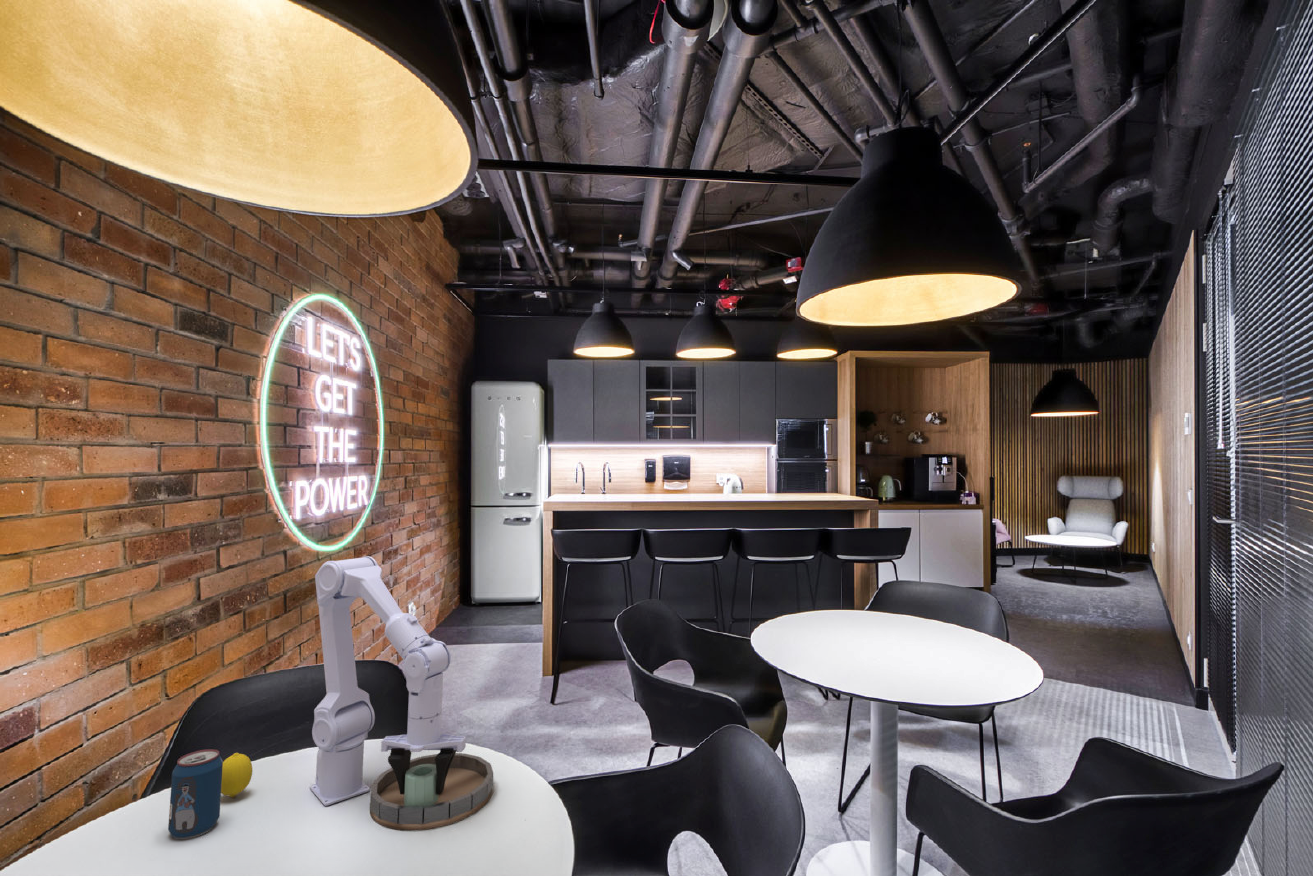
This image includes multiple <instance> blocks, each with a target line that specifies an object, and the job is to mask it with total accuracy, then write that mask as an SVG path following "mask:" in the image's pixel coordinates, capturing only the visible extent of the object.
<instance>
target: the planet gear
mask: <svg viewBox="0 0 1313 876" xmlns="http://www.w3.org/2000/svg"><path fill="white" fill-rule="evenodd" d="M436 780H437V772H436V765H433V764H422V765H418V766H415V767H412V768H410V769H409V770H407V771H406V774H405V794H404V805H405V806H426V805H431V804H434V803H435V802H437V801H438V797H439V795H436Z"/></svg>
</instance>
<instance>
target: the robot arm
mask: <svg viewBox="0 0 1313 876" xmlns="http://www.w3.org/2000/svg"><path fill="white" fill-rule="evenodd" d="M382 574H383V569H382V568H381V567H380V565H378V562H377V560H375V559H374V557H372V556H369V555H367V556H362V557H357V558H349V559H340V560H328V561H325V562H324V563H323V564H322V565H321V566H320V567H319V569H318V571H317V572H316V573H315V575H314V578H315V579H314V580H315V588H316V591H315V593H316V599H317V605H318V606H317V607H318V616H319V626H320V627H319V628H320V637H321V646H322V648H321V649H322V657H323V658H322V659H323V669H324V679H325V689H326V694H325V696H324V697H323V699H322V700H321V701H320V702H319V703H318V704H317V706H316V707H315V708H314V710H313V714H314V715H313V716H314V717H313V718H314V719H313V724H312V728H311V729H312V730H311V734H312V740H313V742H314V744H315V745H316V746H317V748H318V750H317V753H316V764H315V765H316V770H315V783H314V784H311V785H310V786H309V789H310V790H311V792H312V793H313V794H314V795H315V797H316V798H317V799H318V800H319V801H320V802H321V803H322V805H324V806H325V807H326V806H327V807H328V806H330V805H333V804H337V803H338V802H342V801H345V800H347V799H351V798H353V797H355V796H359V795H362V794H365V793H368V792H371V787H369V786H368V785H367V783H365V782H364V781H363V773H364V770H363V769H364V753H365V751H364V749H365V748H364V747H365V740H366V739H368V734H369V732H370V731H371V730H372V729H373V727H374V724H375V722H376V721H375V720H376V716H375V711H374V708H373V706H372V704H371V701H370V700H371V699H370V694H369V693H368V692H366V691H365V690H364V689H362V688H360V687H358V686H359V685H358V677H357V676H358V675H357V668H356V656H355V647H354V638H353V628H352V619H351V618H352V616H351V606H352V604H354V602H355V600H356V599H357V598H361V599H363V601H364V602H365V603H366V604H367V605H368V606H369V608H370V609H371V610H372V611H373V612H374V613H375V614H376V615H377V616H378V618H379V619H380V620H381V621H382V622H383V624H385V628H384V636H385V637H386V638H387V640H388V641H389V642H390V644H391V645H392V646H393V648H394V649H395V650H396V652H397V653H398V655H399V656H400V657H401V659H402V660H403V662H404V663H401V669H402V673H403V676H404V678H405V680H406V688H407V691H408V708H407V709H408V710H407V732H406V734H400V735H399V734H398V735H386V736H385V737H384V738H382V740H381V743H380V744H381V746H380V752H381V753H382V752H384V753H386V752H388V751H390V753H389V754H390V755H388V756H387V762H388V763H389V766H390V768H392V769H393V771H394V773H395V775H396V778H397V782H398V785H399V790H400V794H405V774H406V771H407V770H409V767H410V760H411V758H412V757H411V756H412V753H420V752H422V751H439V752H438V753H437V754H438V755H437V756H436V757H435V762H436V772H437V780H436V795H440V794H441V793H442V791H443V790H444V785H445V780H446V776H447V773H448V770H449V767H450V765H451V762H452V760H453V758H454V755H455V753H461V752H463V751H464V750H465V749H466V746H467V744H466V742H467V741H466V740H467V739H466V738H467V737H466V736H463V735H462V736H461V735H453V734H448V733H443V732H442V712H443V687H444V686H443V684H444V672H446V670H448V668H450V664H451V659H452V658H451V652H450V650H449V648H448V646H447V644H446V643H445V642H443V641H441V640H436V639H435V638H433V637H430V636H431V635H429V634H428V633H427V631H426V630H425V629H424V627H423V626H422V625H421V624H420V623H419V619H418V618H417V616H416V615H413V614H412V613H410V612H403V611H402V609H401V608H400V606H399V604H398V603H397V601H396V600H395V599H394V597H393V596H392V594H391V592H390V591H389V589H388V587H387V586H386V584H385V583H384V581H383V579H382V577H383V576H382Z"/></svg>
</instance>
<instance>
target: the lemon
mask: <svg viewBox="0 0 1313 876" xmlns="http://www.w3.org/2000/svg"><path fill="white" fill-rule="evenodd" d="M252 775H253V765H252V761H251V759H250V758H249V756H247V755H246V754H243V753H239V752H235V753H233V754H232V755H230V756H229V757H227V758H225V759H224V761H223V768H222V784H221V795H223V796H228V797H230V798H232V799H233V798H235V797H237V796H238V794H240V793H242V792H243V791H244V790H245V789H246V788H247V787H248V785H249V784H250V782H251V779H252Z"/></svg>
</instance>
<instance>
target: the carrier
mask: <svg viewBox="0 0 1313 876" xmlns="http://www.w3.org/2000/svg"><path fill="white" fill-rule="evenodd" d="M437 755H438V753H434V754H430V755H429V754H428V755H423V756H418V757H415V758H412V759H410V767H409V769H410V768H412V767H415V766H418V765H422V764H433V765H436V762H435V757H436V756H437ZM493 788H494V770H493V766H492V763H490V762H488V761H487V760H485V759H484V758H482V757H480V756H477V755H473V754H469V753H461V752H456V753H455V755H454V758H453V760H452V762H451V765H450V767H449V770H448V773H447V776H446V780H445V785H444V790H443V791H442V793H441V794H440V795H439V797H438V801H437V802H435V803H434V804H431V805H426V806H405V805H404V794H400V790H399V785H398V782H397V778H396V775H395V773H394V771H393V769H392V767H390V768H388V769H386V770H385V771H383V772H381V773H380V775H378V777H377V778H376V779H375V780H374V781H373V782H372V783H371V787H370V799H369V801H370V802H369V814H370V817H371V819H372V820H373V821H374V822H375V823H376V824H378V825H379V826H382V827H384V828H388V829H392V830H397V831H407V832H408V831H409V832H413V831H414V832H415V831H425V830H432V829H438V828H442V827H446V826H449V825H452V824H454V823H457V822H460V821H463V820H465V819H467V818H469V817H471V816H472V815H474V814H476V813H477V812H479V811H480V810H482V809H483V808H484V807H485V806H486V805H487V804H488V802H489V801H490V799H491V798H492V795H493V791H492V790H493ZM483 806H484V807H483ZM470 815H471V816H470Z"/></svg>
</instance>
